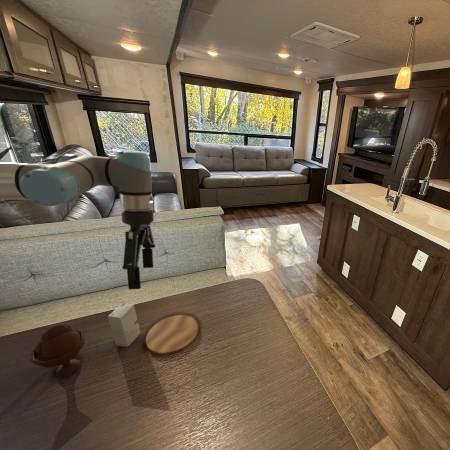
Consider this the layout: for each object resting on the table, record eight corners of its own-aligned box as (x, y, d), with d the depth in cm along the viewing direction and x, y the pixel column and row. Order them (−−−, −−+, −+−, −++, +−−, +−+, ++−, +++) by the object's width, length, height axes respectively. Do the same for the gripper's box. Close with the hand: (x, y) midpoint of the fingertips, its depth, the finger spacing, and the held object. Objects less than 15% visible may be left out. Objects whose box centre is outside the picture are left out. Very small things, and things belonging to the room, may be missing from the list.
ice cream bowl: (33, 375, 68) (13, 335, 62) (81, 346, 77) (68, 309, 72) (52, 395, 64) (32, 355, 58) (100, 362, 73) (88, 324, 67)
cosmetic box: (128, 347, 79) (120, 318, 74) (114, 345, 79) (106, 316, 74) (141, 332, 84) (135, 304, 79) (128, 330, 84) (121, 302, 80)
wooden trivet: (134, 351, 78) (134, 349, 77) (164, 314, 92) (163, 312, 92) (184, 357, 77) (184, 355, 77) (205, 319, 92) (205, 318, 91)
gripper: (139, 220, 59) (144, 298, 64) (162, 201, 82) (164, 260, 87) (101, 219, 57) (110, 300, 62) (136, 200, 79) (140, 260, 85)
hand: (142, 277), depth 75 cm, fingers open, 13 cm apart
